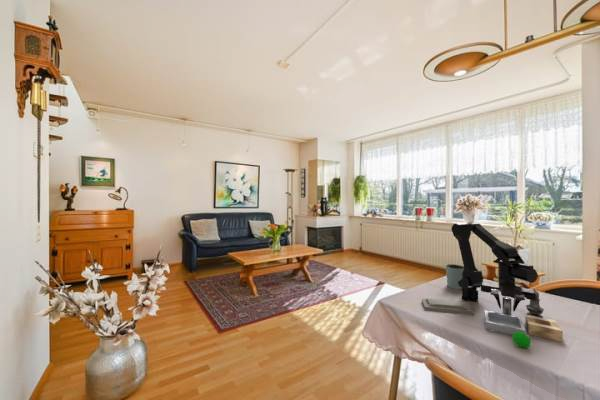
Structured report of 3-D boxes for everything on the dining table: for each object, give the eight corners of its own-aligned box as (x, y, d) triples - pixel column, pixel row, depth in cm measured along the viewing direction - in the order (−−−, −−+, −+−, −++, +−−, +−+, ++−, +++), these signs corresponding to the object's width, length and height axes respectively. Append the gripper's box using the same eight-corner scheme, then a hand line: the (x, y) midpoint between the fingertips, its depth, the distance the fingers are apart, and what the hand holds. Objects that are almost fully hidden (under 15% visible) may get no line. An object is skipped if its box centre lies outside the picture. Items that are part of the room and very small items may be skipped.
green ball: (521, 342, 90) (521, 329, 90) (535, 350, 85) (535, 336, 85) (508, 342, 90) (508, 329, 90) (521, 351, 85) (521, 337, 85)
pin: (503, 316, 109) (502, 298, 109) (502, 313, 111) (502, 296, 111) (511, 318, 107) (511, 300, 107) (511, 315, 110) (510, 297, 109)
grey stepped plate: (474, 316, 111) (474, 309, 111) (425, 311, 117) (425, 304, 116) (466, 306, 121) (465, 299, 120) (421, 302, 126) (421, 295, 126)
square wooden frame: (529, 334, 95) (529, 323, 95) (525, 324, 102) (525, 314, 102) (562, 341, 90) (562, 331, 90) (555, 330, 97) (555, 320, 97)
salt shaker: (547, 319, 106) (547, 291, 105) (531, 318, 107) (531, 291, 107) (537, 313, 111) (537, 286, 111) (522, 312, 113) (522, 286, 112)
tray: (485, 329, 99) (485, 321, 99) (484, 316, 109) (484, 310, 109) (525, 338, 92) (525, 330, 92) (521, 324, 102) (521, 317, 102)
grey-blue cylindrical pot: (450, 289, 141) (449, 268, 141) (442, 283, 151) (442, 263, 151) (469, 290, 139) (469, 269, 139) (460, 283, 149) (460, 264, 149)
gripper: (480, 276, 108) (481, 311, 108) (539, 284, 97) (539, 323, 97) (480, 269, 117) (480, 302, 117) (533, 276, 106) (534, 312, 106)
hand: (506, 309), depth 109 cm, fingers open, 4 cm apart
